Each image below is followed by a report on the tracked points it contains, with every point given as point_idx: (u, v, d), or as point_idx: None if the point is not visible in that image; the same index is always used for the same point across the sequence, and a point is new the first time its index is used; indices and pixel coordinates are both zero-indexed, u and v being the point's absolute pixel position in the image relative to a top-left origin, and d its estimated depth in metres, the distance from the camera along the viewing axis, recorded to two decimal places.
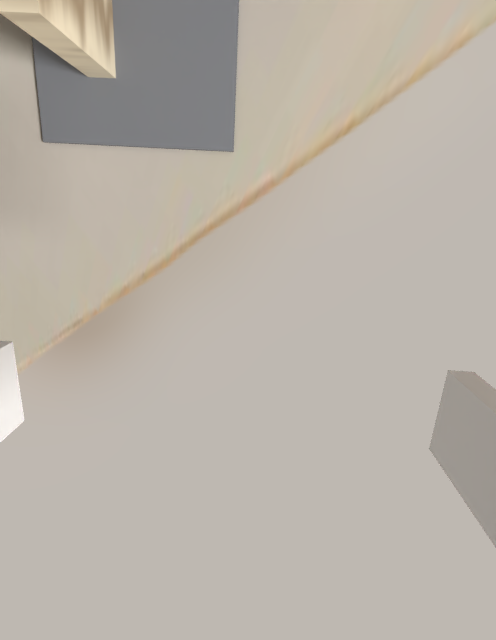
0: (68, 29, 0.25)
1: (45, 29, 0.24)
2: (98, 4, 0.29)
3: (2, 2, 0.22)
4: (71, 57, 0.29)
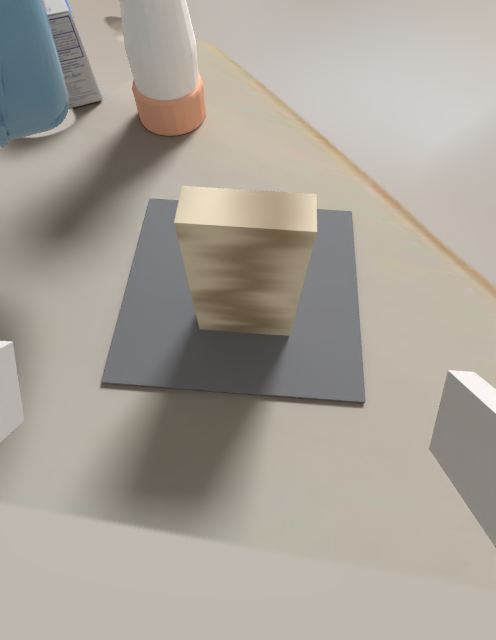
0: None
1: None
2: None
3: (308, 225, 0.18)
4: None
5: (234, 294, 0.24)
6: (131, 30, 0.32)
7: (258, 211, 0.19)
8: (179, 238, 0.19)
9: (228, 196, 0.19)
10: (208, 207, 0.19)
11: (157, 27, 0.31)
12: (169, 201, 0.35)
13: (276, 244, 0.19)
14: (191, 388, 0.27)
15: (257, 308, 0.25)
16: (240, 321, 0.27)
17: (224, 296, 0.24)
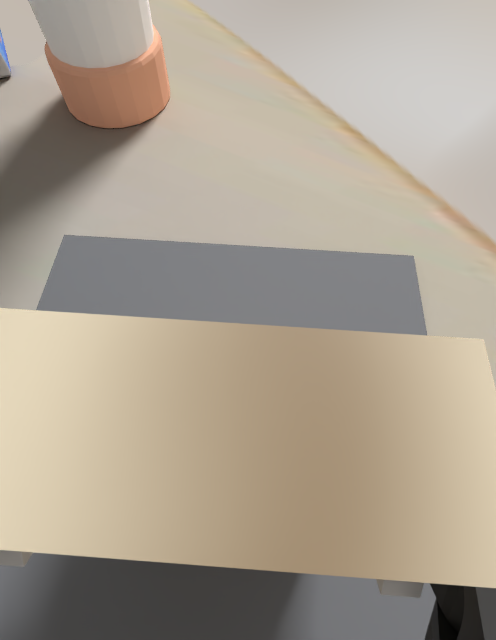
0: None
1: None
2: None
3: (489, 541, 0.04)
4: None
5: None
6: None
7: (234, 444, 0.04)
8: None
9: (102, 356, 0.04)
10: None
11: None
12: (97, 240, 0.20)
13: None
14: None
15: None
16: None
17: None
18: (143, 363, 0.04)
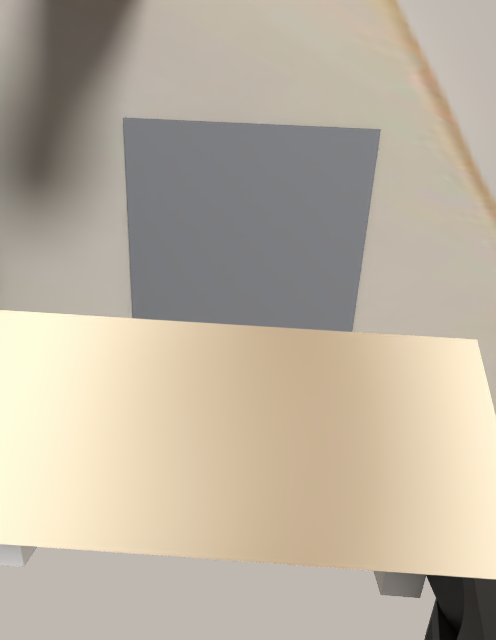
0: None
1: None
2: None
3: (481, 535, 0.04)
4: None
5: None
6: None
7: (236, 442, 0.04)
8: None
9: (107, 357, 0.04)
10: (6, 422, 0.04)
11: None
12: (148, 122, 0.28)
13: None
14: None
15: None
16: None
17: None
18: (147, 364, 0.04)
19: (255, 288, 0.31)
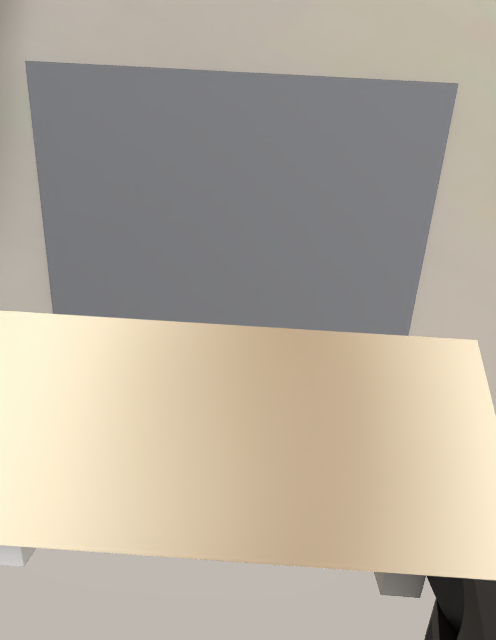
0: None
1: None
2: None
3: (482, 535, 0.04)
4: None
5: None
6: None
7: (235, 442, 0.04)
8: None
9: (107, 358, 0.04)
10: (6, 422, 0.04)
11: None
12: (68, 68, 0.16)
13: None
14: None
15: None
16: None
17: None
18: (147, 365, 0.04)
19: None
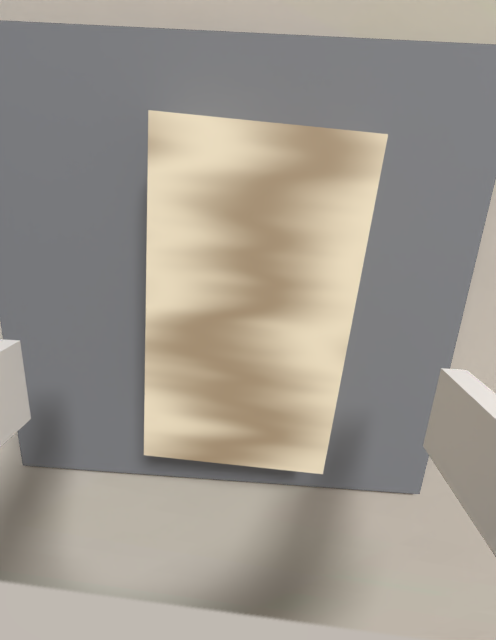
0: None
1: None
2: None
3: (370, 135, 0.11)
4: None
5: (227, 326, 0.13)
6: None
7: None
8: (150, 154, 0.11)
9: None
10: None
11: None
12: (10, 28, 0.12)
13: (317, 170, 0.11)
14: (157, 473, 0.18)
15: (267, 375, 0.13)
16: (229, 422, 0.14)
17: (208, 333, 0.13)
18: None
19: None
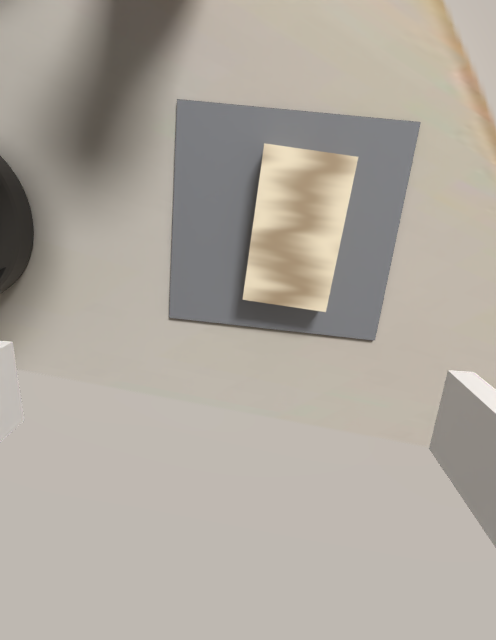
0: None
1: None
2: None
3: (351, 156, 0.28)
4: None
5: (287, 235, 0.29)
6: None
7: None
8: (263, 160, 0.28)
9: None
10: None
11: None
12: (201, 104, 0.29)
13: (329, 170, 0.28)
14: (239, 324, 0.34)
15: (303, 260, 0.30)
16: (284, 283, 0.30)
17: (279, 239, 0.29)
18: None
19: None
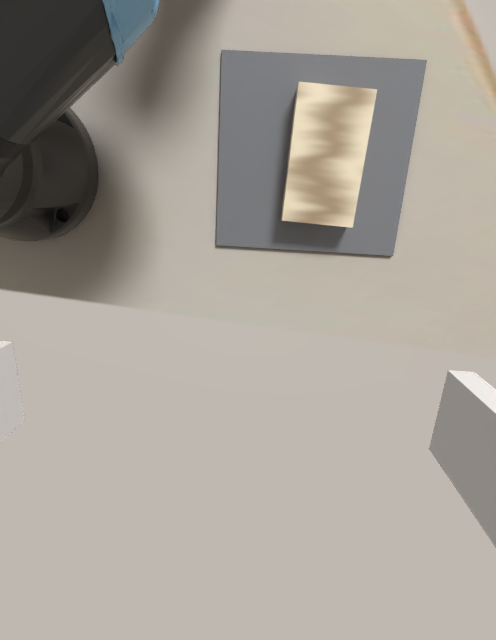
0: None
1: None
2: None
3: (371, 90, 0.33)
4: None
5: (319, 161, 0.35)
6: None
7: None
8: (297, 96, 0.33)
9: None
10: None
11: None
12: (242, 53, 0.35)
13: (353, 102, 0.33)
14: (276, 248, 0.40)
15: (333, 182, 0.35)
16: (317, 204, 0.36)
17: (312, 164, 0.35)
18: None
19: None
